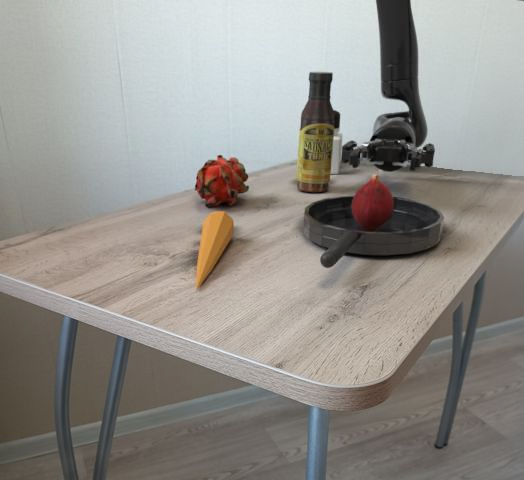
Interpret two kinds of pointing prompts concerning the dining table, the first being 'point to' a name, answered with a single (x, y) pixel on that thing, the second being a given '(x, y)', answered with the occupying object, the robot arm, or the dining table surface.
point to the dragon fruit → (221, 181)
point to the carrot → (213, 242)
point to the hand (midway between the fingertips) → (383, 162)
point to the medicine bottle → (336, 145)
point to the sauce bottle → (316, 136)
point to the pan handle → (339, 249)
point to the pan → (383, 238)
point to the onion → (372, 204)
